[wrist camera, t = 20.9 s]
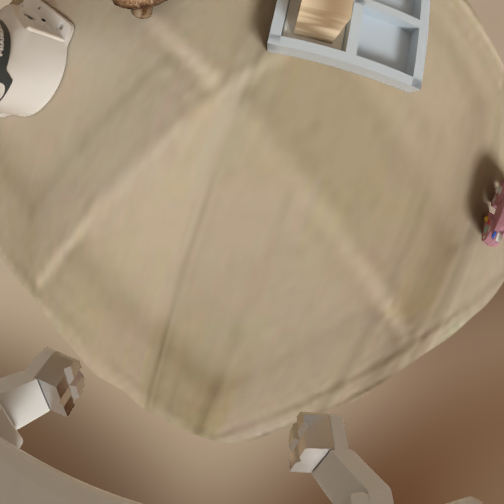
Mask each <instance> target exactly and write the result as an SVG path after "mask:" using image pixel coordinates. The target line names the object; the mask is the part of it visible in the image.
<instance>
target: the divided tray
mask: <svg viewBox="0 0 504 504" xmlns="http://www.w3.org/2000/svg"><path fill="white" fill-rule="evenodd" d="M300 1H301V0H277V4H276V8H275V12H274V16H273V20H272V25H271V29H270V33H269V38H268V42H267V51H268V52H273V53H278V54H283V55H288V56H293V57H297V58H302V59H306V60H310V61H314V62H318V63H322V64H326V65H329V66H333V67H336V68H340V69H343V70H346V71H350V72H353V73H356V74H359V75H362V76H365V77H368V78H371V79H374V80H377V81H379V82H382V83H385V84H387V85H390V86H393V87H395V88H398V89H400V90H403V91H405V92H408V93H409V92H413V91H418V90H421V84H422V78H423V71H424V64H425V56H426V47H427V37H428V26H429V12H430V0H354V2H353V8H352V14H351V19H350V20H349V21H348V23H347V24H346V25H345V27H344V28H343V29H342V30H341V32H340V33H339V34H338V36H337V37H336V38H335V40H334V41H333V42H332V44H330V43H326V42H322V41H318V40H314V39H310V38H306V37H302V36H297V35H293V34H294V29H295V24H296V20H297V15H298V10H299V5H300Z"/></svg>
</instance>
